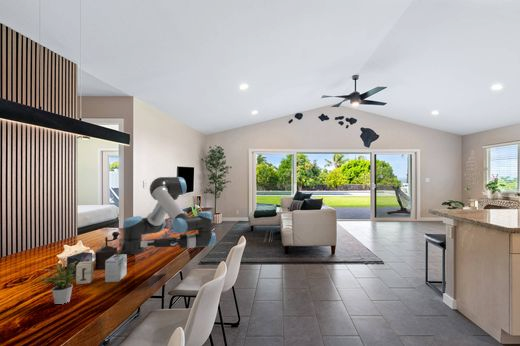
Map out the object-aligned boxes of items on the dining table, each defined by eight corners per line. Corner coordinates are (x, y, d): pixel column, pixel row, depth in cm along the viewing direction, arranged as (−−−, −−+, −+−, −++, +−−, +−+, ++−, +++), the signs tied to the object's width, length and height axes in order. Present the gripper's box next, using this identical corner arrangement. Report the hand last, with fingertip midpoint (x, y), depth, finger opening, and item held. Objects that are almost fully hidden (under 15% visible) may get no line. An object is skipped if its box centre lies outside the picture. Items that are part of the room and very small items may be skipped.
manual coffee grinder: (116, 267, 162) (117, 235, 162) (94, 269, 158) (94, 237, 158) (119, 259, 177) (119, 230, 177) (99, 261, 172) (99, 232, 173)
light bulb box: (113, 274, 150) (114, 254, 150) (127, 274, 151) (127, 253, 151) (104, 282, 140) (104, 260, 140) (118, 281, 140) (118, 259, 140)
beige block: (79, 280, 143) (79, 262, 143) (93, 278, 145) (93, 260, 145) (76, 284, 137) (76, 265, 137) (90, 283, 139) (90, 264, 139)
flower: (173, 233, 249) (163, 209, 240) (196, 232, 242) (186, 207, 233) (161, 248, 232) (149, 222, 222) (185, 247, 225) (174, 221, 215)
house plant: (59, 293, 126) (59, 256, 126) (90, 293, 126) (90, 256, 126) (32, 308, 112) (33, 266, 112) (67, 309, 112) (67, 267, 112)
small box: (76, 278, 145) (76, 257, 145) (65, 277, 146) (66, 257, 146) (92, 271, 155) (92, 252, 155) (82, 270, 156) (82, 251, 156)
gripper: (188, 250, 151) (139, 254, 143) (186, 245, 163) (141, 248, 155) (188, 236, 151) (139, 239, 143) (186, 231, 163) (141, 234, 155)
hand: (140, 244), depth 149 cm, fingers closed
